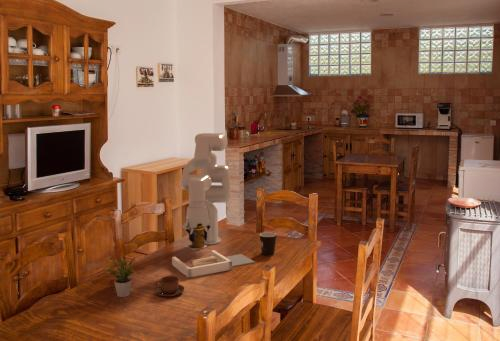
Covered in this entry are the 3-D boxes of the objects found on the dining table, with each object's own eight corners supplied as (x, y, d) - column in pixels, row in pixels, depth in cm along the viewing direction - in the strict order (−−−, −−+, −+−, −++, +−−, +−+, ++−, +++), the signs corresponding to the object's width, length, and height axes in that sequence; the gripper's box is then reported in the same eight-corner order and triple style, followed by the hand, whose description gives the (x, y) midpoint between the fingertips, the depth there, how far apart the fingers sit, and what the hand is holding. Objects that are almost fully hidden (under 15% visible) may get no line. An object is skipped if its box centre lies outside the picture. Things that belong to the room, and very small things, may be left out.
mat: (220, 258, 269) (220, 257, 269) (241, 255, 274) (241, 253, 274) (232, 266, 257) (232, 265, 256) (254, 262, 262) (254, 261, 262)
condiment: (208, 246, 259) (207, 222, 257) (194, 250, 253) (193, 225, 251) (199, 243, 264) (198, 219, 262) (184, 246, 259) (184, 222, 256)
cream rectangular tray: (172, 265, 260) (172, 257, 259) (214, 257, 270) (213, 250, 270) (188, 277, 242) (188, 269, 242) (232, 269, 253) (232, 261, 252)
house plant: (128, 284, 235) (126, 248, 232) (149, 292, 226) (148, 254, 223) (100, 294, 224) (98, 256, 221) (121, 302, 215) (119, 263, 212)
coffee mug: (276, 256, 273) (276, 236, 271) (259, 256, 273) (259, 236, 271) (276, 249, 284) (276, 230, 283) (259, 249, 284) (259, 230, 283)
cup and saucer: (156, 300, 218) (156, 285, 217) (153, 289, 229) (153, 275, 228) (186, 297, 221) (185, 282, 220) (182, 286, 232) (181, 273, 231)
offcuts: (189, 271, 251) (189, 260, 250) (215, 266, 259) (215, 255, 258) (194, 274, 247) (194, 263, 246) (220, 268, 255) (220, 257, 254)
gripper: (210, 200, 263) (211, 235, 266) (177, 204, 254) (178, 241, 258) (217, 203, 256) (217, 239, 259) (183, 207, 248) (184, 245, 251)
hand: (198, 240), depth 259 cm, fingers closed on condiment, 6 cm apart
